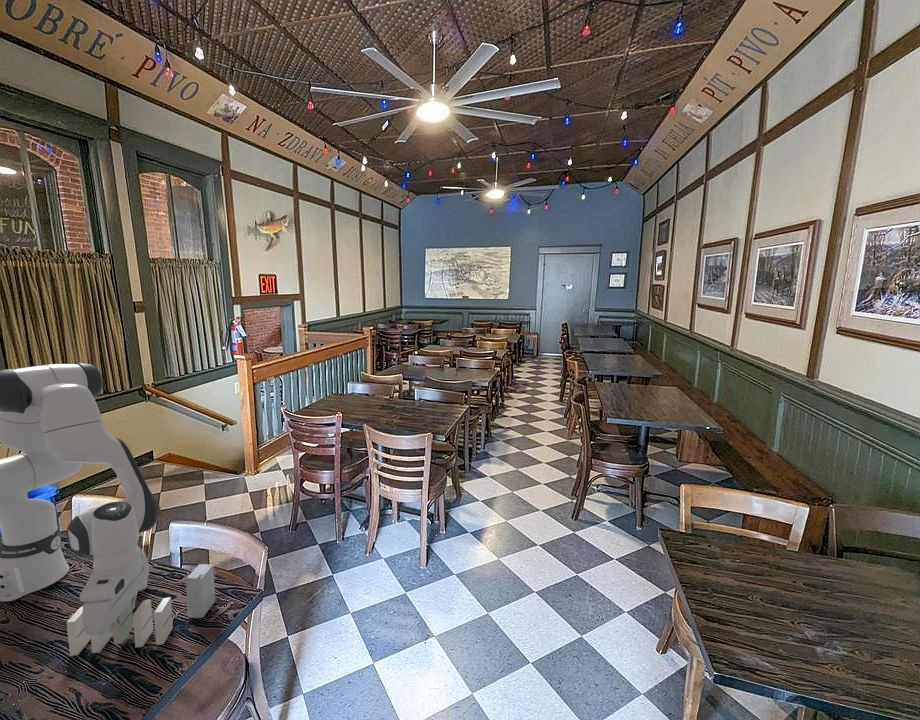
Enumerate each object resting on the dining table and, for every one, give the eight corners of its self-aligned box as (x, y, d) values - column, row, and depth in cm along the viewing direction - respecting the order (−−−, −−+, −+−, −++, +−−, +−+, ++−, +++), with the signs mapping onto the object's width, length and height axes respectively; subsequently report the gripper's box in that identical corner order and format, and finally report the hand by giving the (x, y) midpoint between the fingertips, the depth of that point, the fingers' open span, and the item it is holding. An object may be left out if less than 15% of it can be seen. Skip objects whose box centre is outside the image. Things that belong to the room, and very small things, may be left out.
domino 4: (156, 645, 101) (153, 612, 99) (165, 629, 106) (163, 597, 104) (163, 644, 101) (161, 611, 100) (172, 628, 106) (171, 597, 105)
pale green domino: (133, 627, 104) (130, 595, 102) (121, 643, 99) (119, 610, 98) (125, 627, 103) (123, 596, 102) (114, 644, 99) (111, 611, 97)
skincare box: (200, 601, 115) (198, 563, 113) (216, 602, 115) (214, 563, 114) (186, 618, 109) (184, 578, 107) (203, 619, 109) (201, 578, 108)
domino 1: (70, 655, 97) (66, 622, 95) (84, 638, 102) (80, 606, 100) (78, 654, 97) (74, 621, 96) (91, 637, 102) (88, 605, 101)
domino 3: (135, 647, 100) (132, 615, 98) (145, 631, 105) (143, 600, 103) (142, 646, 100) (140, 614, 99) (153, 630, 105) (150, 599, 104)
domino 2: (92, 653, 98) (88, 619, 96) (105, 636, 103) (102, 604, 101) (100, 652, 98) (97, 618, 97) (112, 635, 103) (109, 603, 102)
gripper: (127, 545, 108) (131, 592, 110) (73, 601, 88) (79, 657, 90) (154, 543, 109) (157, 589, 111) (107, 597, 89) (112, 653, 92)
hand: (122, 620), depth 100 cm, fingers closed on pale green domino, 5 cm apart
